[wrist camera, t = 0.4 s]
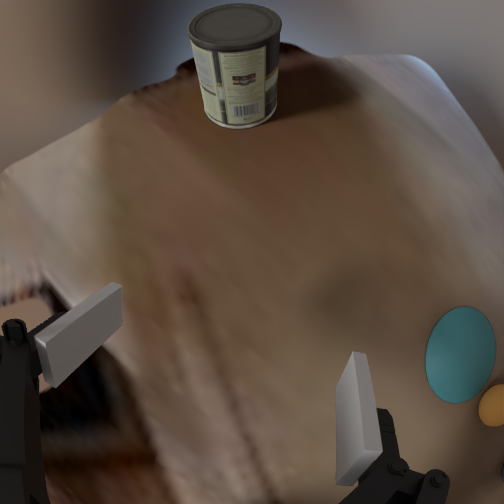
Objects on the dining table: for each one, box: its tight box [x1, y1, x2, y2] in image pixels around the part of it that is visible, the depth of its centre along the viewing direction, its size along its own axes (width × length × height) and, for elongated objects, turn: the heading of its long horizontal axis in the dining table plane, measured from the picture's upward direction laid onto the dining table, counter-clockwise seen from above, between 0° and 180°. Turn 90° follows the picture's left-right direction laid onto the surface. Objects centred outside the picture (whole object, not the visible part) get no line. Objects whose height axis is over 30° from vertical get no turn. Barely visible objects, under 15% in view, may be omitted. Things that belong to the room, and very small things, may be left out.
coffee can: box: [187, 3, 282, 129], centre depth 33 cm, size 10×10×14 cm
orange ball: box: [479, 384, 504, 427], centre depth 25 cm, size 6×6×6 cm
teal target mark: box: [425, 307, 496, 403], centre depth 29 cm, size 12×12×1 cm
